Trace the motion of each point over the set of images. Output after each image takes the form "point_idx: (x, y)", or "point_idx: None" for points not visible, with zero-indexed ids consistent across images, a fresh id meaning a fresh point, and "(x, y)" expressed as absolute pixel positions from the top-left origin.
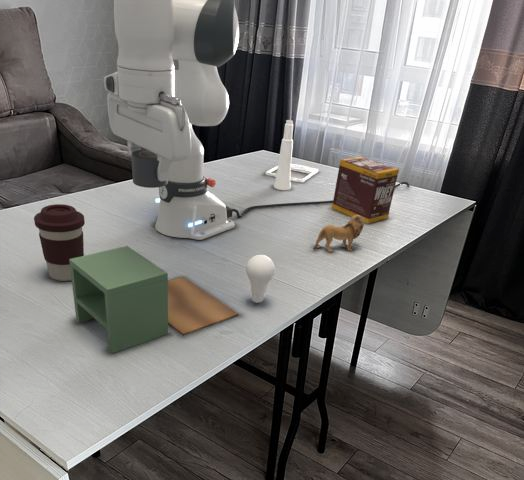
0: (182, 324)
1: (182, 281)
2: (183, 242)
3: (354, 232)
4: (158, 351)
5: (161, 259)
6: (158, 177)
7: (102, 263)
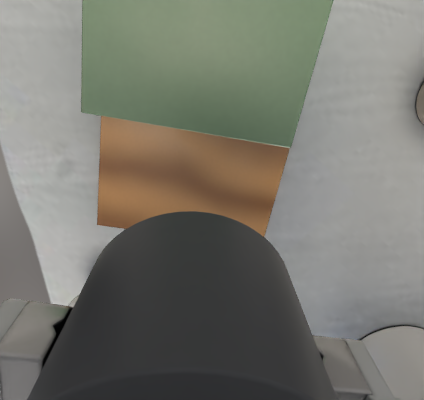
0: (129, 128)
1: None
2: (353, 329)
3: None
4: None
5: (339, 265)
6: (10, 311)
7: (250, 3)
